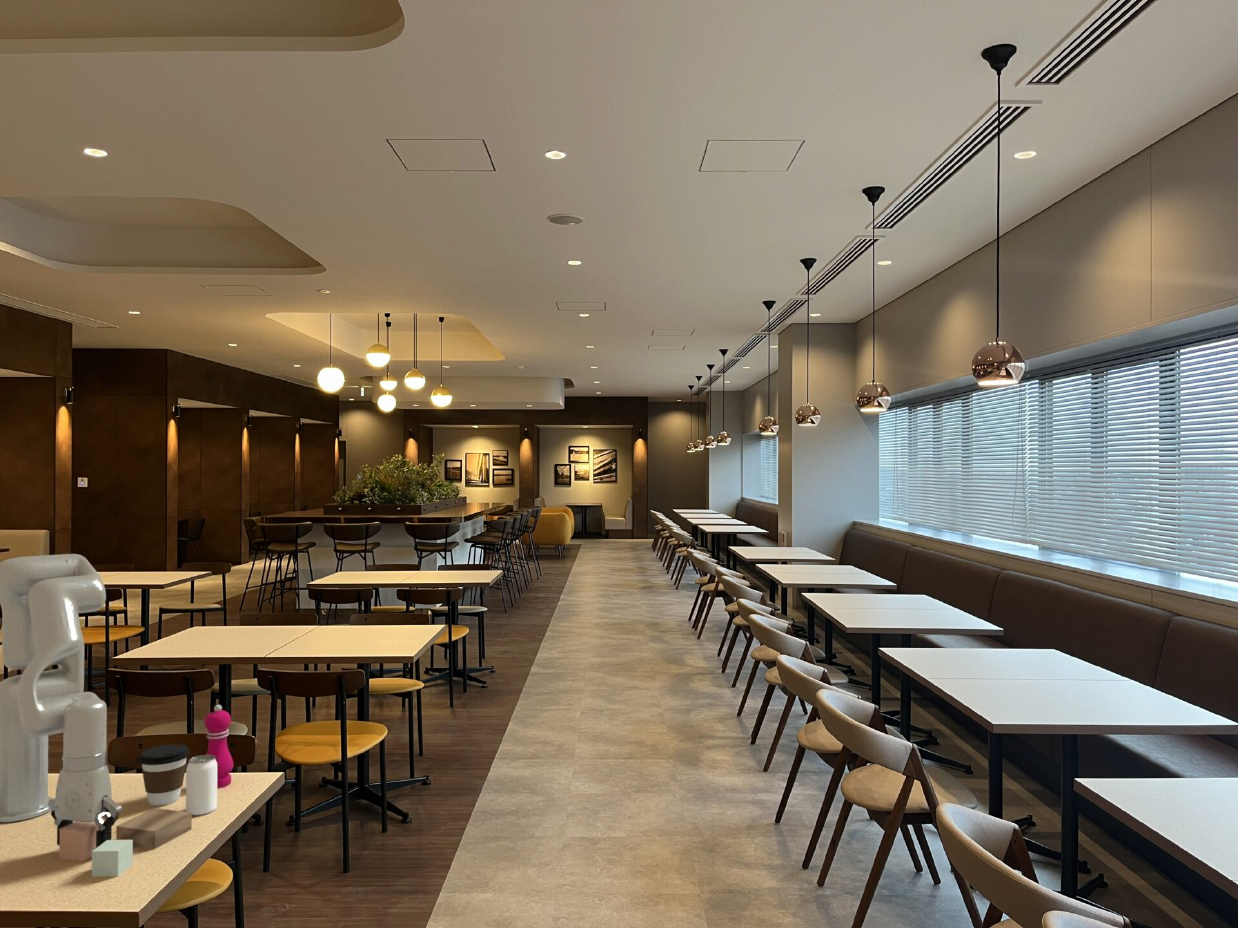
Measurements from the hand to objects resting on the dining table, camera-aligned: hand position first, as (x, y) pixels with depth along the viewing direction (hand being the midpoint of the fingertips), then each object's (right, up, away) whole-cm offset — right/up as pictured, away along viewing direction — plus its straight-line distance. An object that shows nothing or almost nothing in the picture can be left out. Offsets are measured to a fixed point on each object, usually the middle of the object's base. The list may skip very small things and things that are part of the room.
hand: (84, 844), depth 170 cm
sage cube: (+10, -2, -8) cm, 13 cm away
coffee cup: (+1, -2, +27) cm, 28 cm away
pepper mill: (+9, -3, +38) cm, 39 cm away
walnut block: (+10, -2, +8) cm, 13 cm away
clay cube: (0, -2, 0) cm, 2 cm away
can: (+13, -2, +21) cm, 25 cm away
